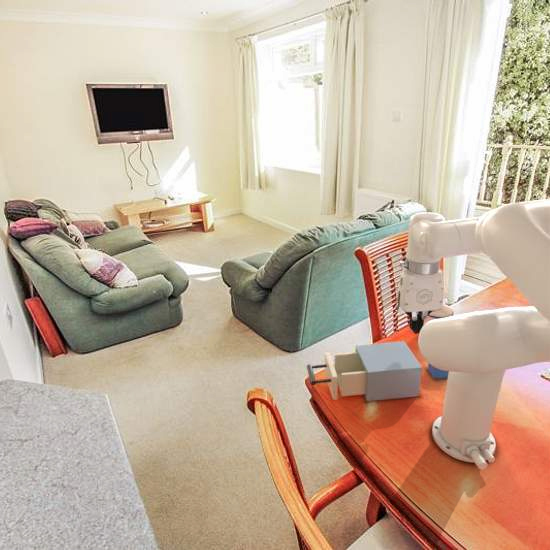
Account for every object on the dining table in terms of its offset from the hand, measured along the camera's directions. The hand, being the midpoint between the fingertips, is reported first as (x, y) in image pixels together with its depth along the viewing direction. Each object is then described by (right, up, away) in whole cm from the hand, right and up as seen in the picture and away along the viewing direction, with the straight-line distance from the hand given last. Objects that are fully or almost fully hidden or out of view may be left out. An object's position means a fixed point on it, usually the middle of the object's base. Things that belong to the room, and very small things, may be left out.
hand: (415, 330), depth 96 cm
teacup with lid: (+16, -4, +26) cm, 31 cm away
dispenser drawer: (-18, -15, +4) cm, 24 cm away
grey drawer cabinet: (-7, -15, +4) cm, 17 cm away
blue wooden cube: (+9, -13, +7) cm, 17 cm away
